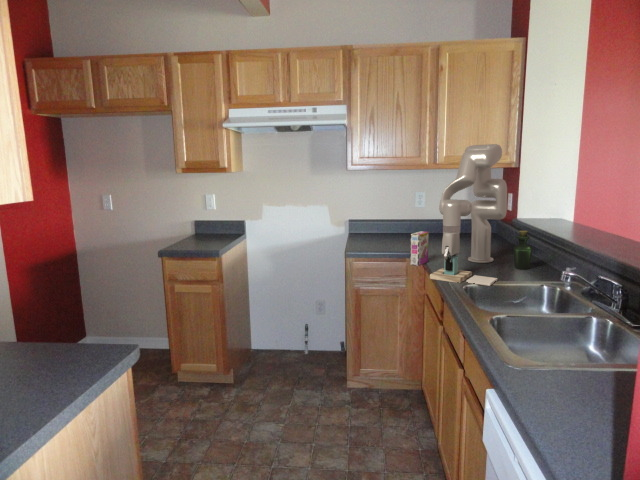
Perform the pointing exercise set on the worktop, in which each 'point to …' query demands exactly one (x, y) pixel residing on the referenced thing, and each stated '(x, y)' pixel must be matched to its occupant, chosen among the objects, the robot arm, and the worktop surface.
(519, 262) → the potion bottle
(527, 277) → the worktop surface
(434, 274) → the pocket base
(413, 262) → the candy bar box
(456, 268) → the teal block
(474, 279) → the tile
